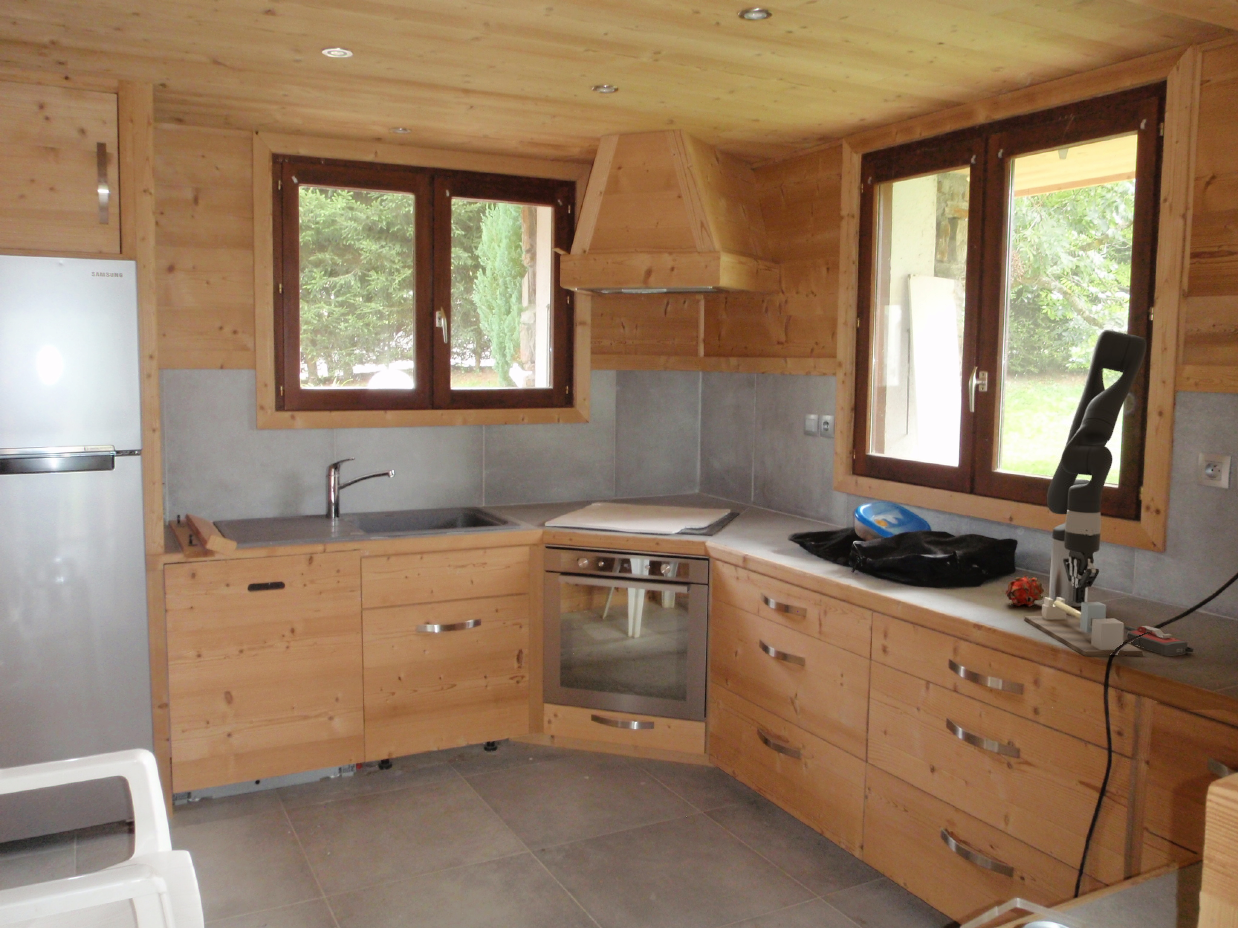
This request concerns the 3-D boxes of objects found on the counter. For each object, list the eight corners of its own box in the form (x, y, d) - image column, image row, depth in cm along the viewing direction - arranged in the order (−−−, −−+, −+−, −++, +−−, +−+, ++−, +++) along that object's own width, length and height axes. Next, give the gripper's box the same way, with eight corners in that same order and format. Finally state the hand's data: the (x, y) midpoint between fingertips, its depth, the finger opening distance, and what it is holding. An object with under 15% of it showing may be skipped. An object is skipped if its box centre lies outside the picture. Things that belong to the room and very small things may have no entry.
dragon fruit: (1042, 608, 266) (1011, 620, 261) (1020, 585, 271) (989, 596, 266) (1057, 587, 260) (1026, 599, 255) (1034, 564, 266) (1003, 575, 260)
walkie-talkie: (1200, 655, 220) (1128, 632, 239) (1202, 636, 219) (1129, 614, 238) (1170, 659, 217) (1099, 635, 236) (1171, 639, 217) (1100, 617, 235)
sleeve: (1080, 629, 229) (1081, 602, 228) (1097, 629, 229) (1099, 602, 228) (1086, 632, 226) (1088, 605, 225) (1104, 632, 226) (1106, 605, 225)
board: (1024, 620, 248) (1024, 616, 248) (1075, 619, 249) (1075, 615, 248) (1084, 655, 218) (1084, 651, 218) (1142, 655, 219) (1142, 650, 219)
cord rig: (1041, 616, 247) (1042, 593, 247) (1061, 616, 247) (1062, 593, 247) (1100, 649, 219) (1101, 623, 219) (1122, 649, 219) (1124, 623, 219)
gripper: (1053, 524, 238) (1049, 595, 240) (1080, 535, 225) (1076, 609, 227) (1084, 524, 238) (1080, 595, 240) (1113, 535, 225) (1108, 609, 227)
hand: (1078, 602), depth 233 cm, fingers closed
